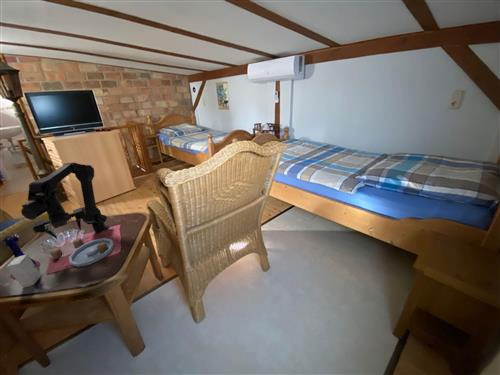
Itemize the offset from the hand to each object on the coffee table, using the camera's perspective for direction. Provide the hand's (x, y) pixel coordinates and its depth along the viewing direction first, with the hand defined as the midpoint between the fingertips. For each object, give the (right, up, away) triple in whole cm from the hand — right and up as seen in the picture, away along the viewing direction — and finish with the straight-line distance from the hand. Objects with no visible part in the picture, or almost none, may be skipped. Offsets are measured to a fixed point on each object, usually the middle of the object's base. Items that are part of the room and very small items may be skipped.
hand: (69, 233), depth 101 cm
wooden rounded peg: (+15, -9, +3) cm, 18 cm away
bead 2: (-3, -9, +10) cm, 13 cm away
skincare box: (-7, -19, -10) cm, 22 cm away
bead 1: (-8, -12, +3) cm, 15 cm away
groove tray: (+10, -11, +3) cm, 15 cm away
